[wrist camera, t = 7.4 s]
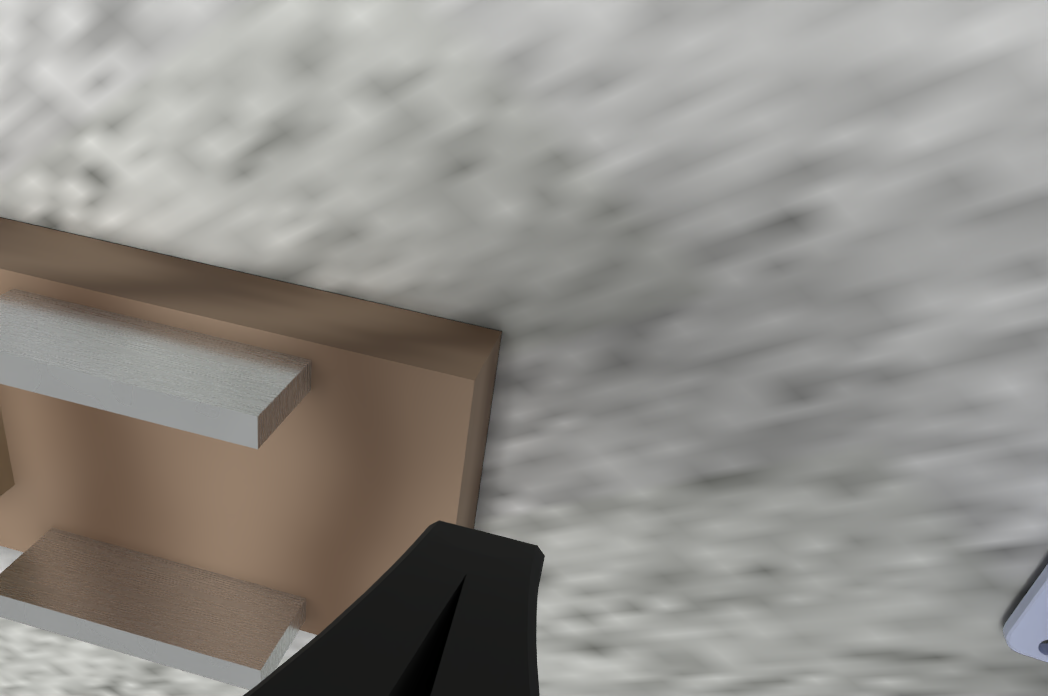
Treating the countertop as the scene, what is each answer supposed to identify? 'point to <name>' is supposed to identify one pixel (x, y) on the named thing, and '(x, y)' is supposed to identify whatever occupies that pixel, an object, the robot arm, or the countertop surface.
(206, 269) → the board
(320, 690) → the robot arm
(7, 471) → the maple block
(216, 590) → the channel walls
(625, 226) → the countertop surface
